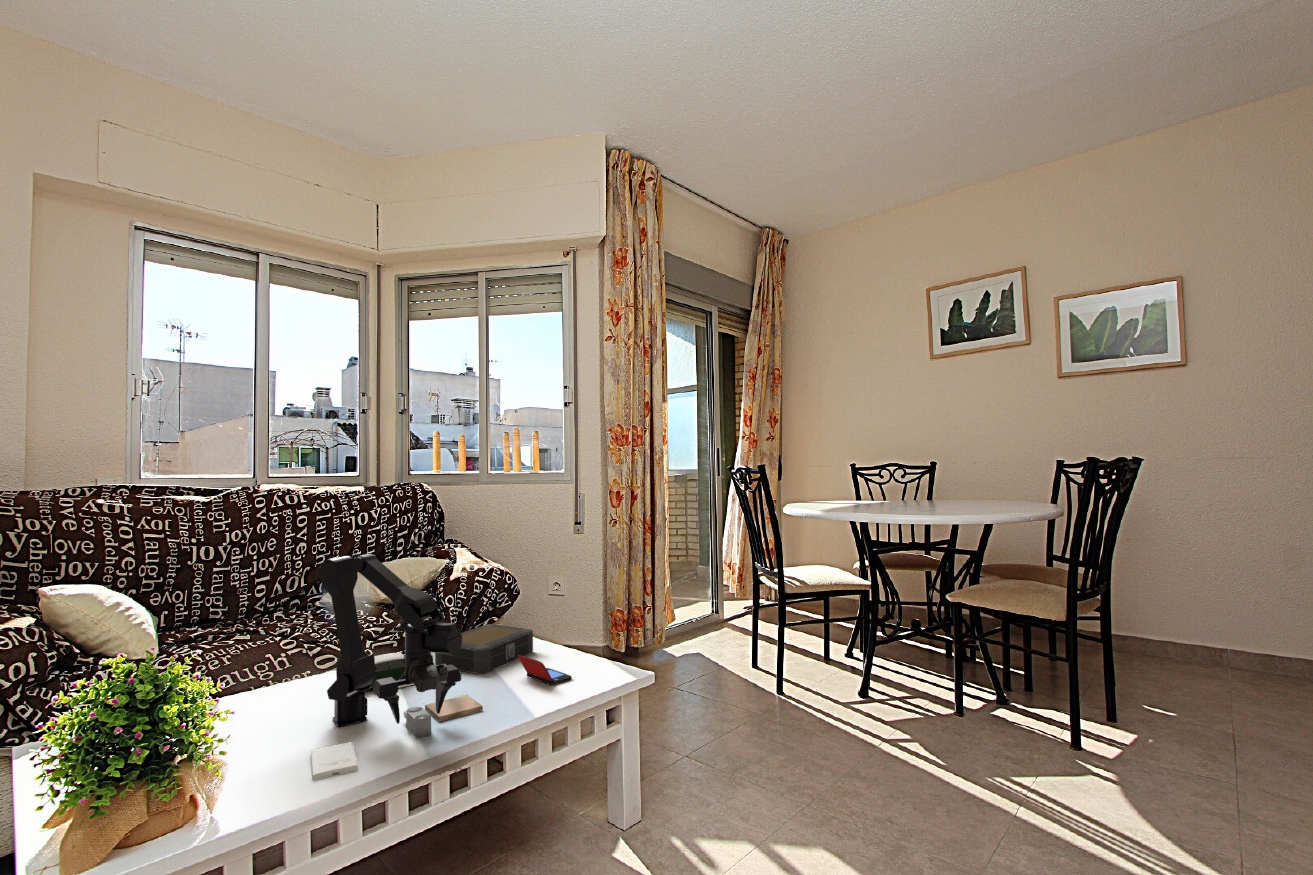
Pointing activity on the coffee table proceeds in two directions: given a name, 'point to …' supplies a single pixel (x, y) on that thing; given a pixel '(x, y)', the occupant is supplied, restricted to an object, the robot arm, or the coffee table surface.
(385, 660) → the miniature car
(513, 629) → the cash box
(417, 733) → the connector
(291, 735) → the coffee table surface
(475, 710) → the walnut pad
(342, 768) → the external hard drive
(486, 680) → the coffee table surface
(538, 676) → the handheld game console
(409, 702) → the coffee table surface
